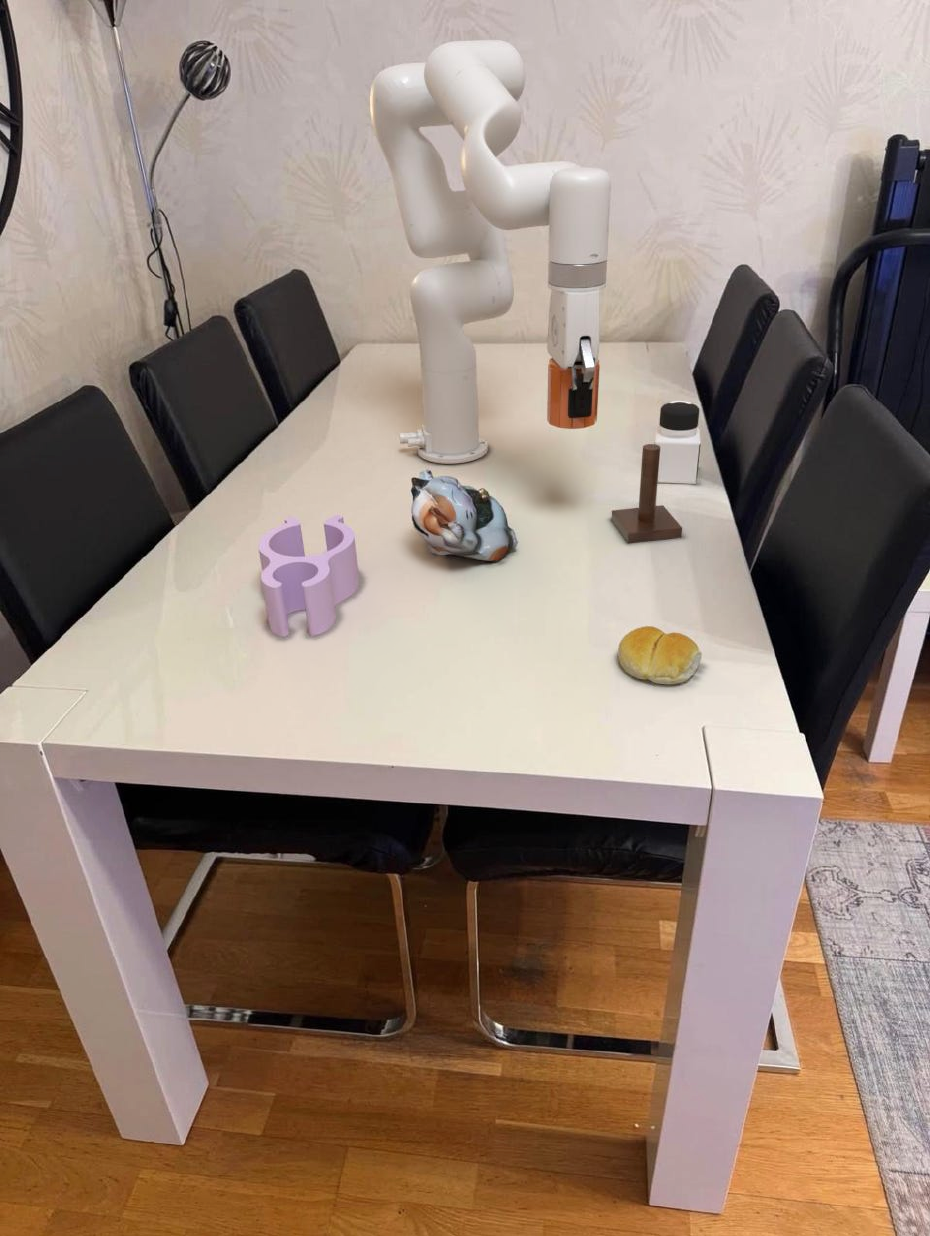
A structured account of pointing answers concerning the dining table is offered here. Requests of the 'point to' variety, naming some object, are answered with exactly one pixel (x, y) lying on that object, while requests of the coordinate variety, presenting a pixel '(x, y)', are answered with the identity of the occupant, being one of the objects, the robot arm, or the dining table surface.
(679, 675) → the bread roll
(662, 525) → the stand
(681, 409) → the medicine bottle
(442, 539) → the lucky cat figurine
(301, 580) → the clip
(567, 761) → the dining table surface
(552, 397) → the cup
